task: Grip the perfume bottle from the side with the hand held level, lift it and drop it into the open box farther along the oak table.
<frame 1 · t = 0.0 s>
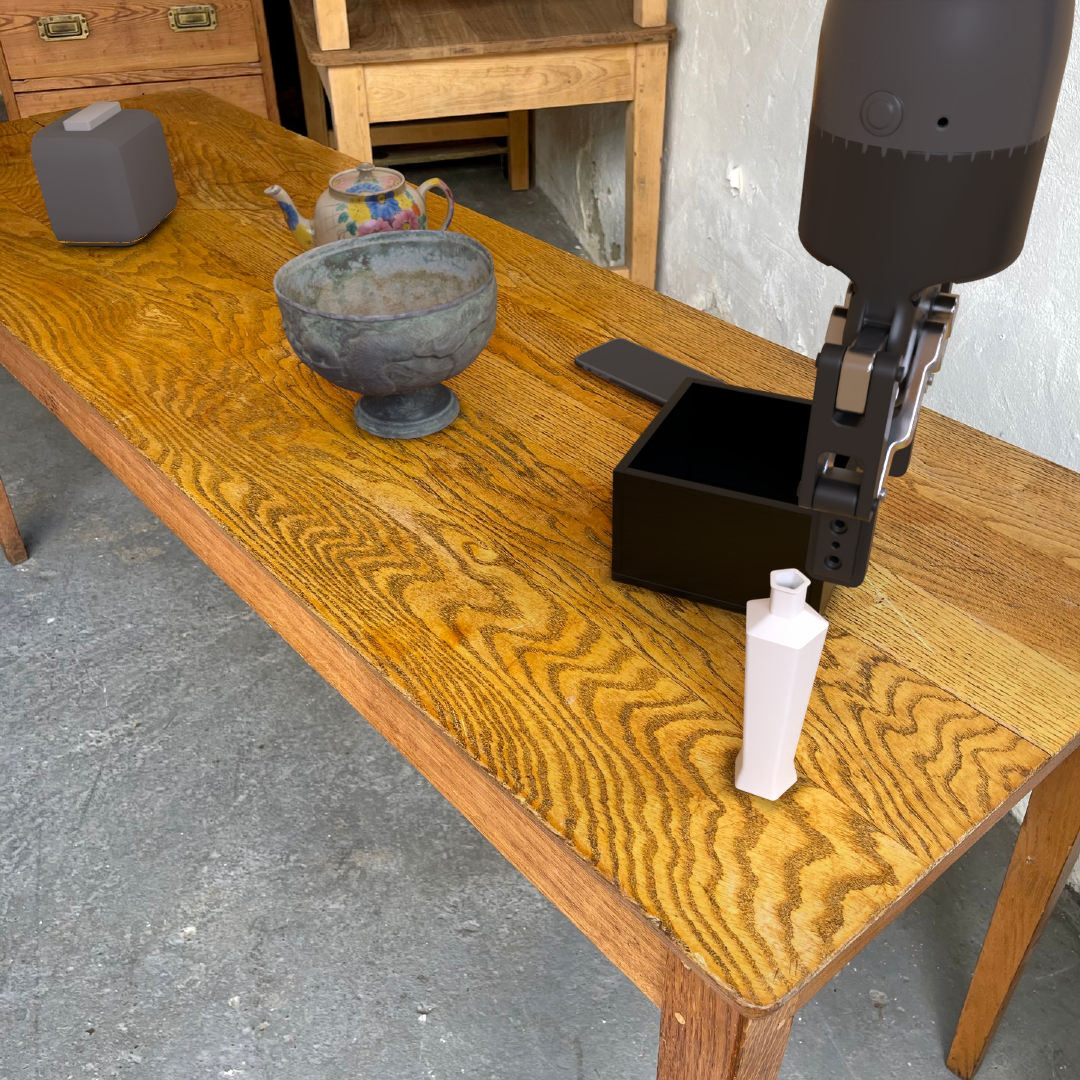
hand: (859, 520, 45), 25 cm above the table, tool pointing down, fingers open, 8 cm apart
perfume bottle: (760, 775, 67), on the table
alarm clock: (126, 231, 150), on the table
smartphone: (648, 379, 110), on the table
open box: (741, 548, 86), on the table
bowl: (401, 417, 105), on the table
teapot: (371, 275, 135), on the table
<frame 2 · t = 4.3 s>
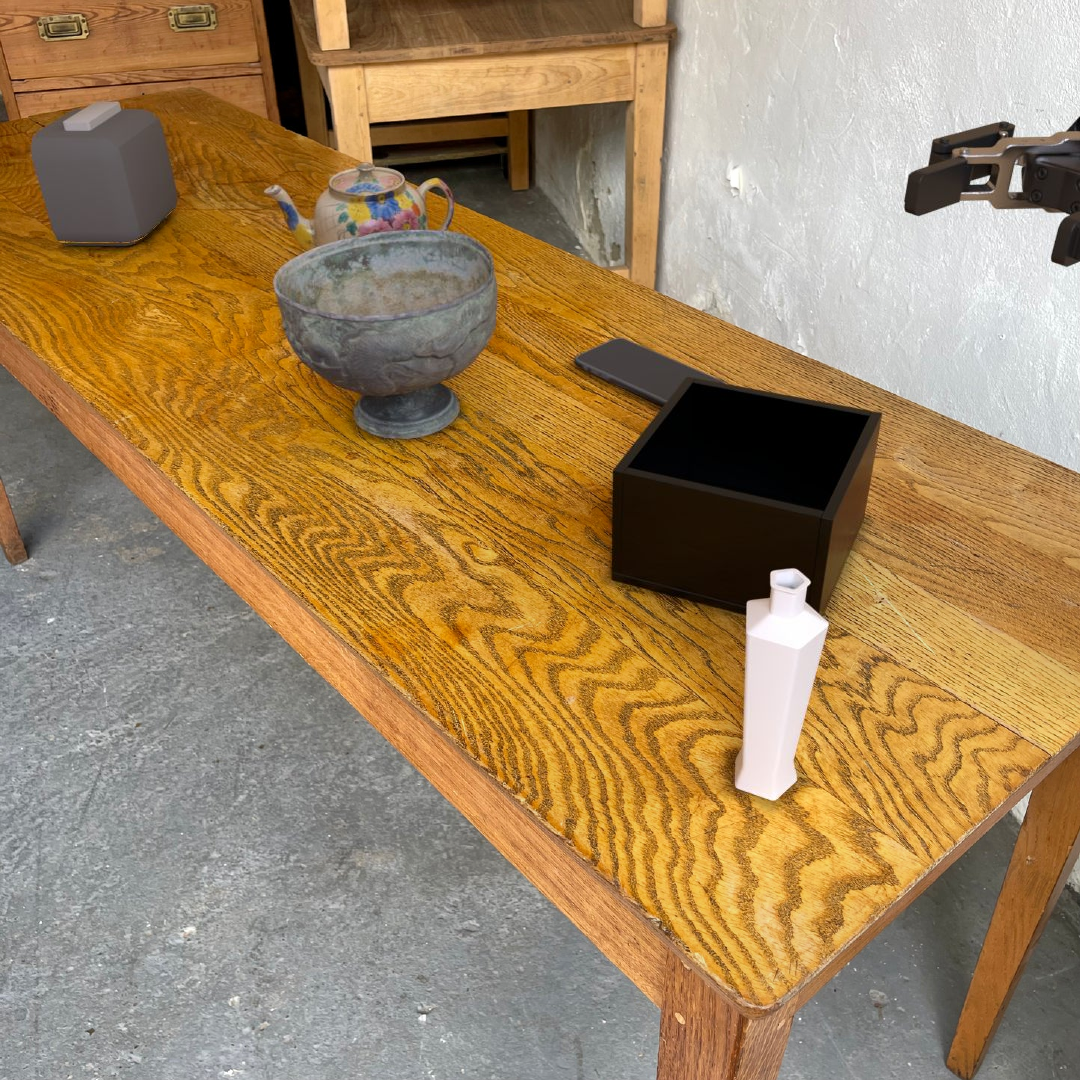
hand: (982, 218, 53), 32 cm above the table, tool horizontal, fingers open, 8 cm apart
nothing on the table moved.
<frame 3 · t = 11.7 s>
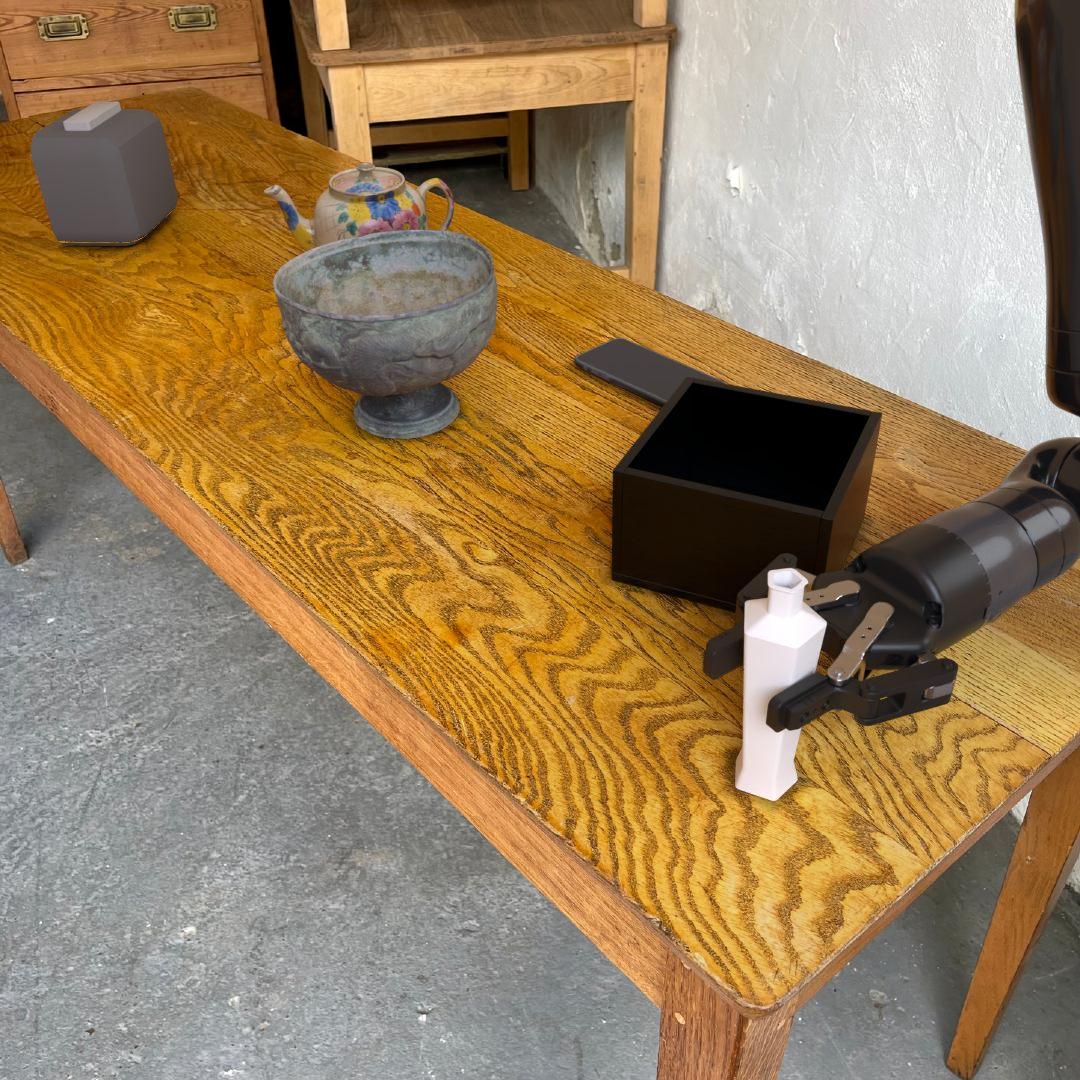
hand: (739, 690, 61), 9 cm above the table, tool horizontal, fingers closed on perfume bottle, 4 cm apart
perfume bottle: (760, 776, 67), on the table, touching gripper
everything else where it was.
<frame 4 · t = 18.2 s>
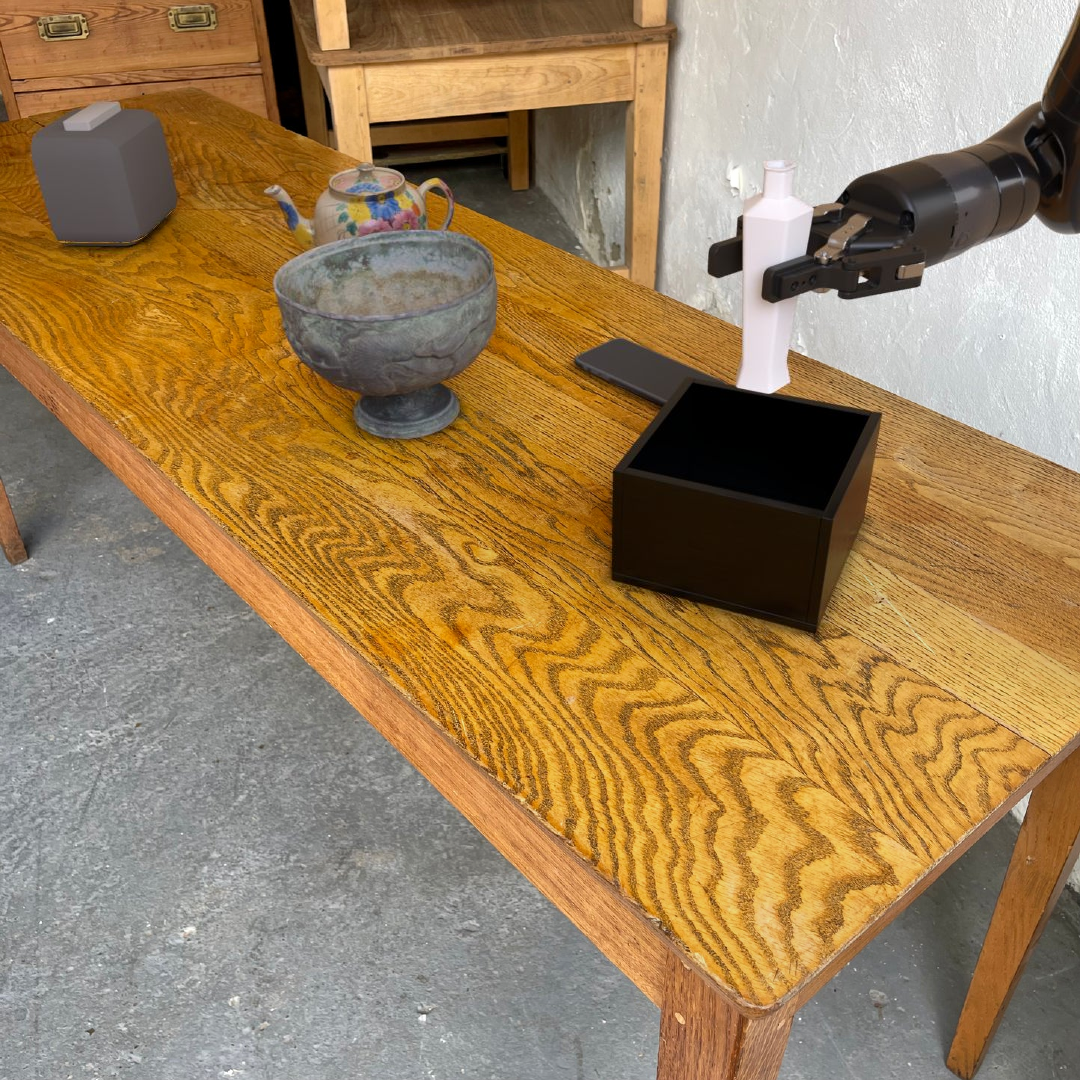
hand: (739, 274, 71), 23 cm above the table, tool horizontal, fingers closed on perfume bottle, 4 cm apart
perfume bottle: (758, 382, 78), point 15 cm above the table, touching gripper
everything else where it was.
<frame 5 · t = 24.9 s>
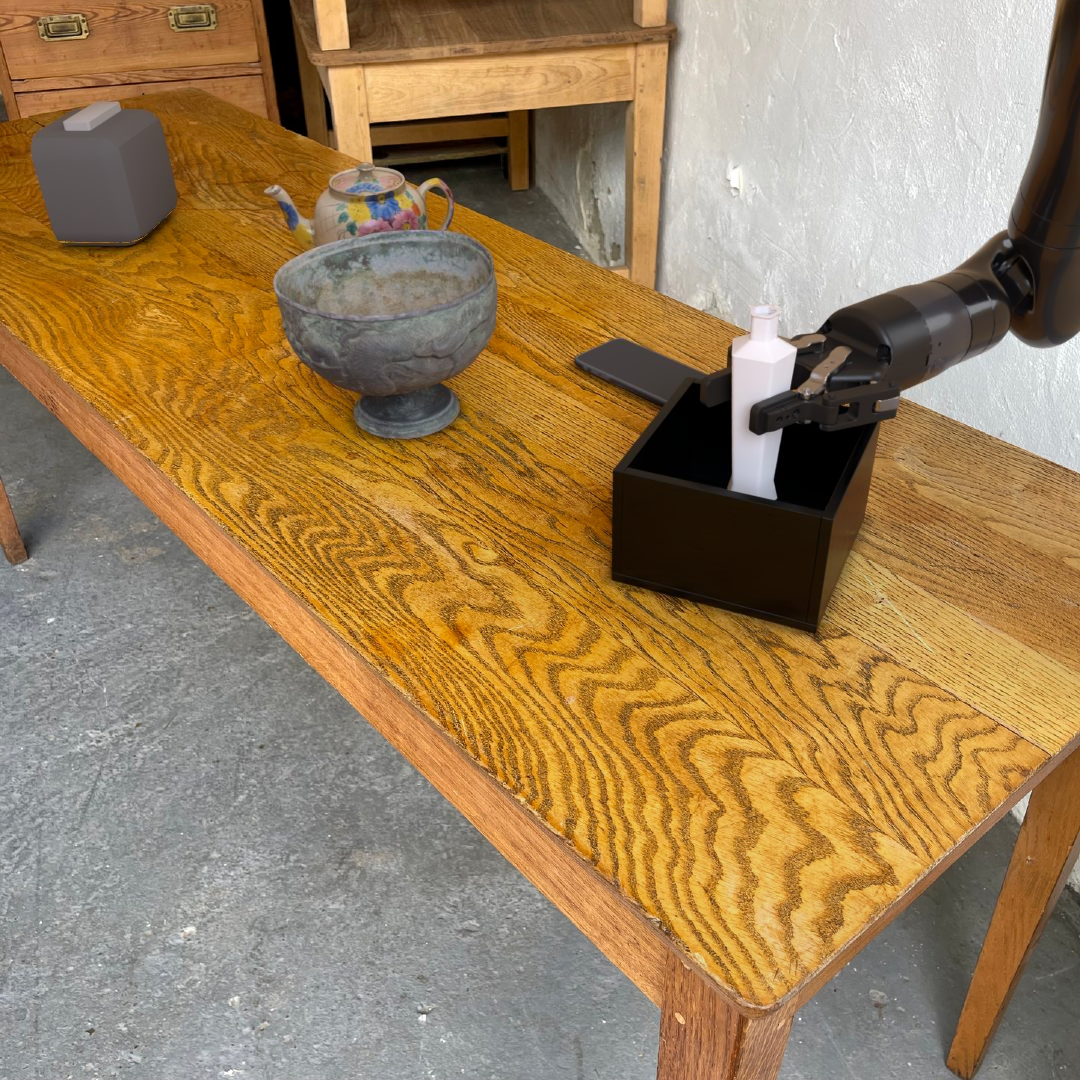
hand: (728, 407, 77), 13 cm above the table, tool horizontal, fingers closed on perfume bottle, 4 cm apart
perfume bottle: (747, 497, 84), point 5 cm above the table, touching gripper
everything else where it was.
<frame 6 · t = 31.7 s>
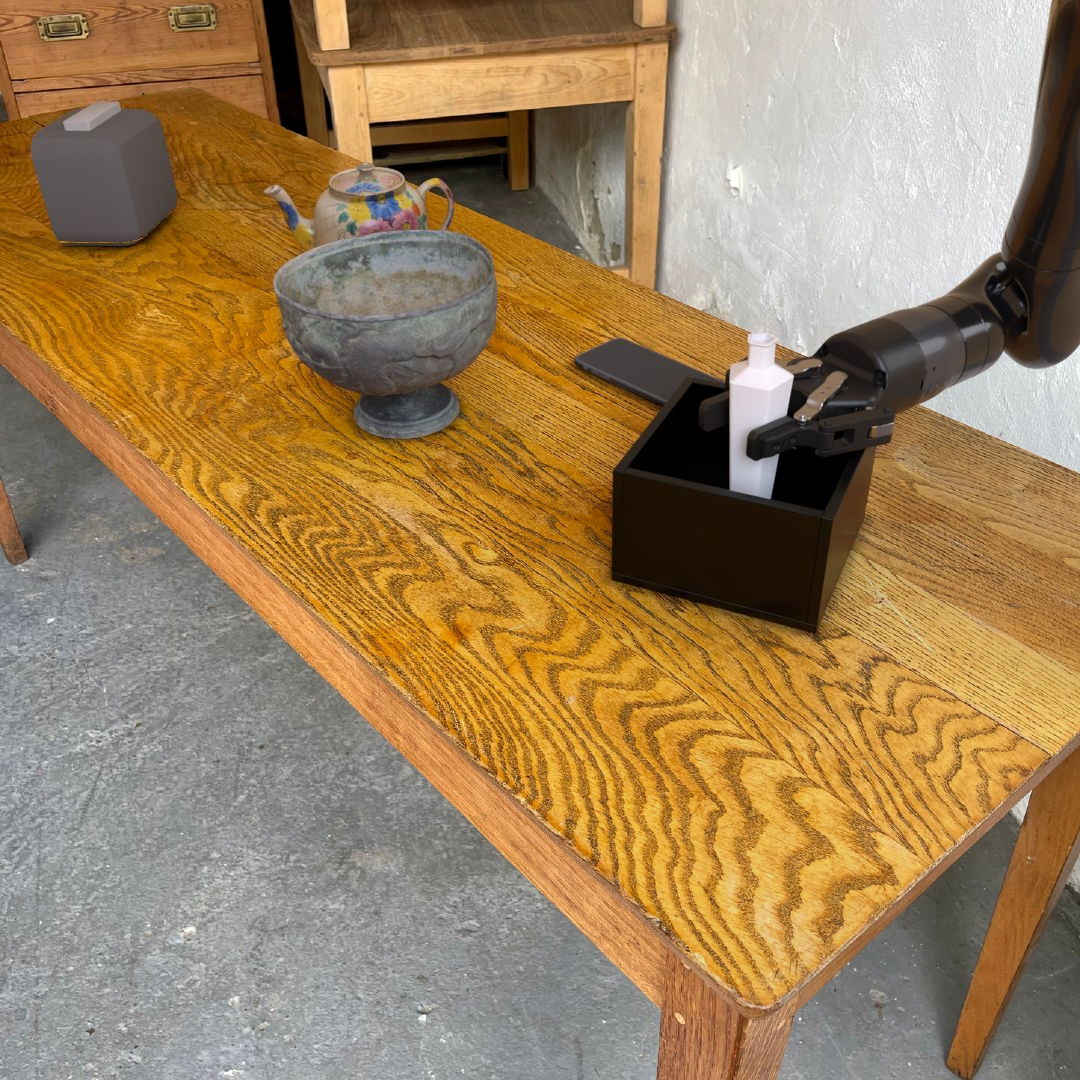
hand: (726, 432, 79), 11 cm above the table, tool horizontal, fingers closed on perfume bottle, 4 cm apart
perfume bottle: (744, 518, 85), point 3 cm above the table, touching gripper
everything else where it was.
when the fingers open (14 cm above the table, at t = 38.4 s): perfume bottle drops 5 cm, resting on open box.
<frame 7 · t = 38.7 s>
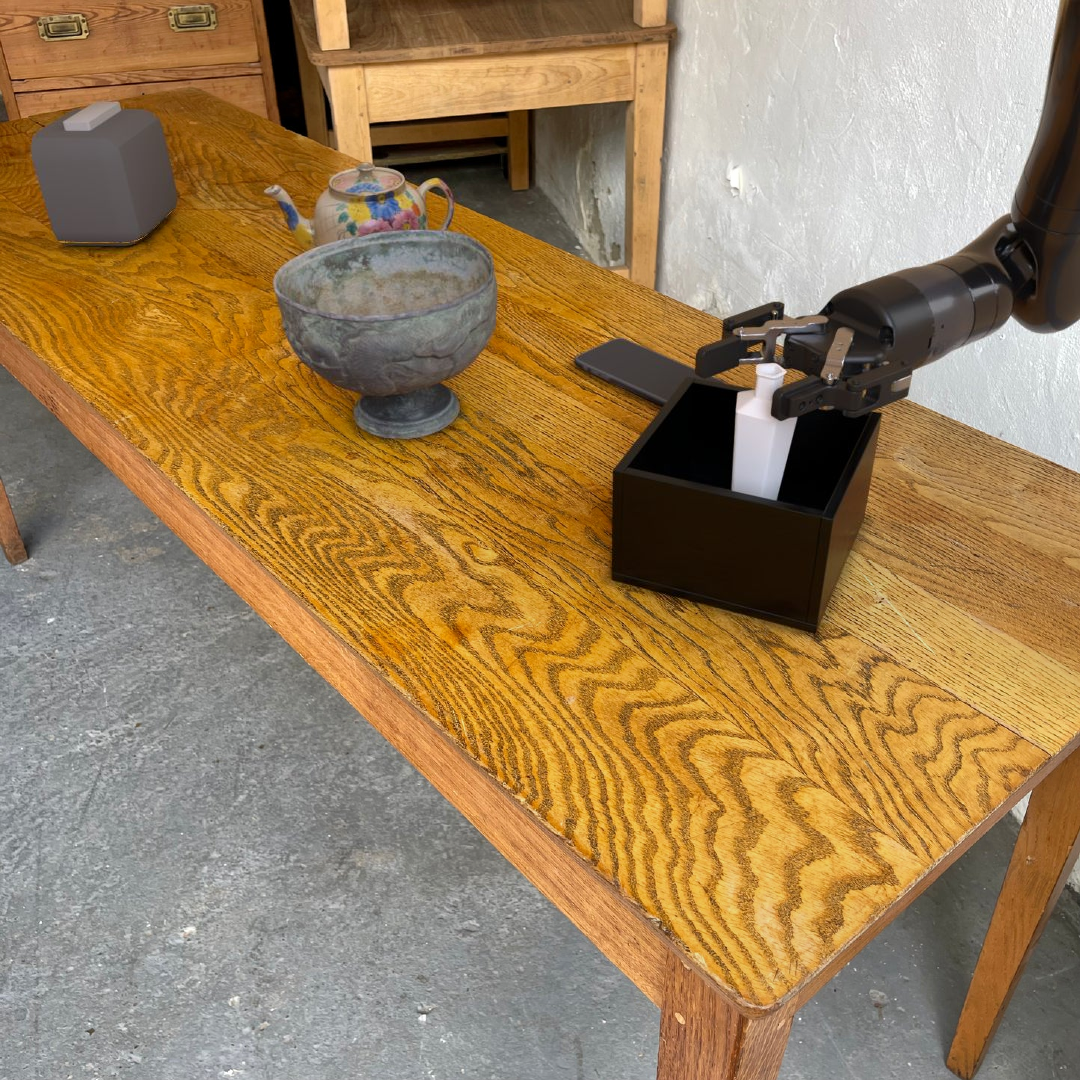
hand: (736, 385, 77), 15 cm above the table, tool horizontal, fingers open, 7 cm apart
perfume bottle: (743, 542, 86), point 1 cm above the table, touching open box
everything else where it was.
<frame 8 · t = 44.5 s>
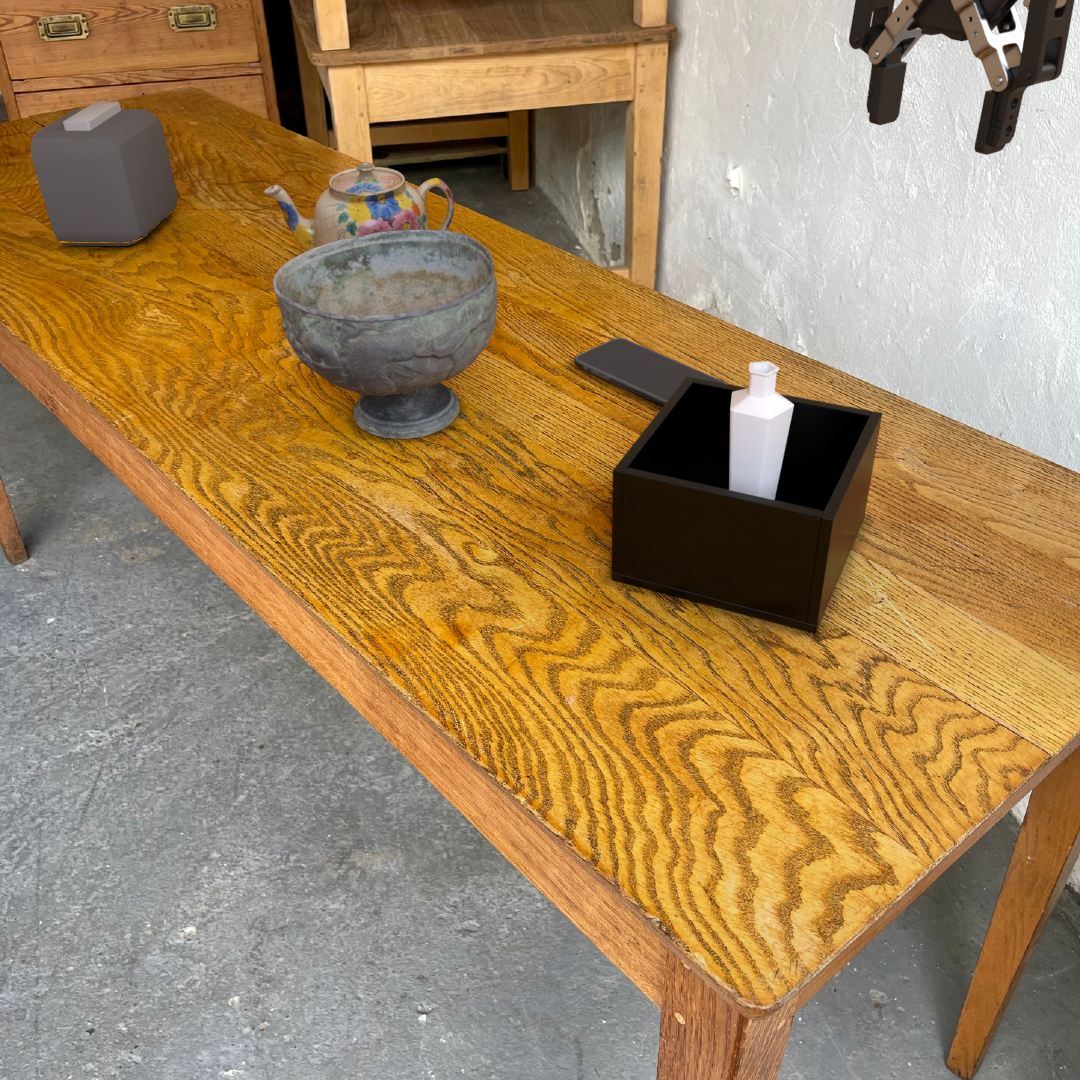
hand: (934, 136, 72), 30 cm above the table, tool pointing down, fingers open, 8 cm apart
nothing on the table moved.
at the end: perfume bottle inside the target area in the open box (0.1 cm from its centre), point 0.6 cm above the open box's base; the gripper is holding nothing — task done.
